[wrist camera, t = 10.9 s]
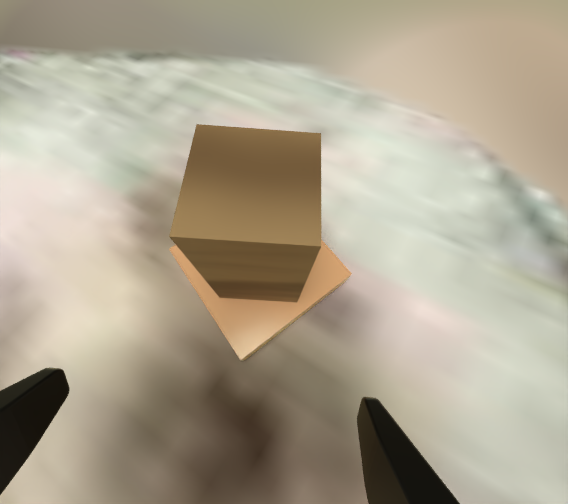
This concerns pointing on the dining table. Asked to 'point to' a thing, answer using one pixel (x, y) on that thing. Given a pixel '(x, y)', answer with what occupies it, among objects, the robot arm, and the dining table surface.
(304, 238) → the walnut block
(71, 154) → the dining table surface
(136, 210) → the dining table surface
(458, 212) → the dining table surface
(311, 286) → the terracotta tile
